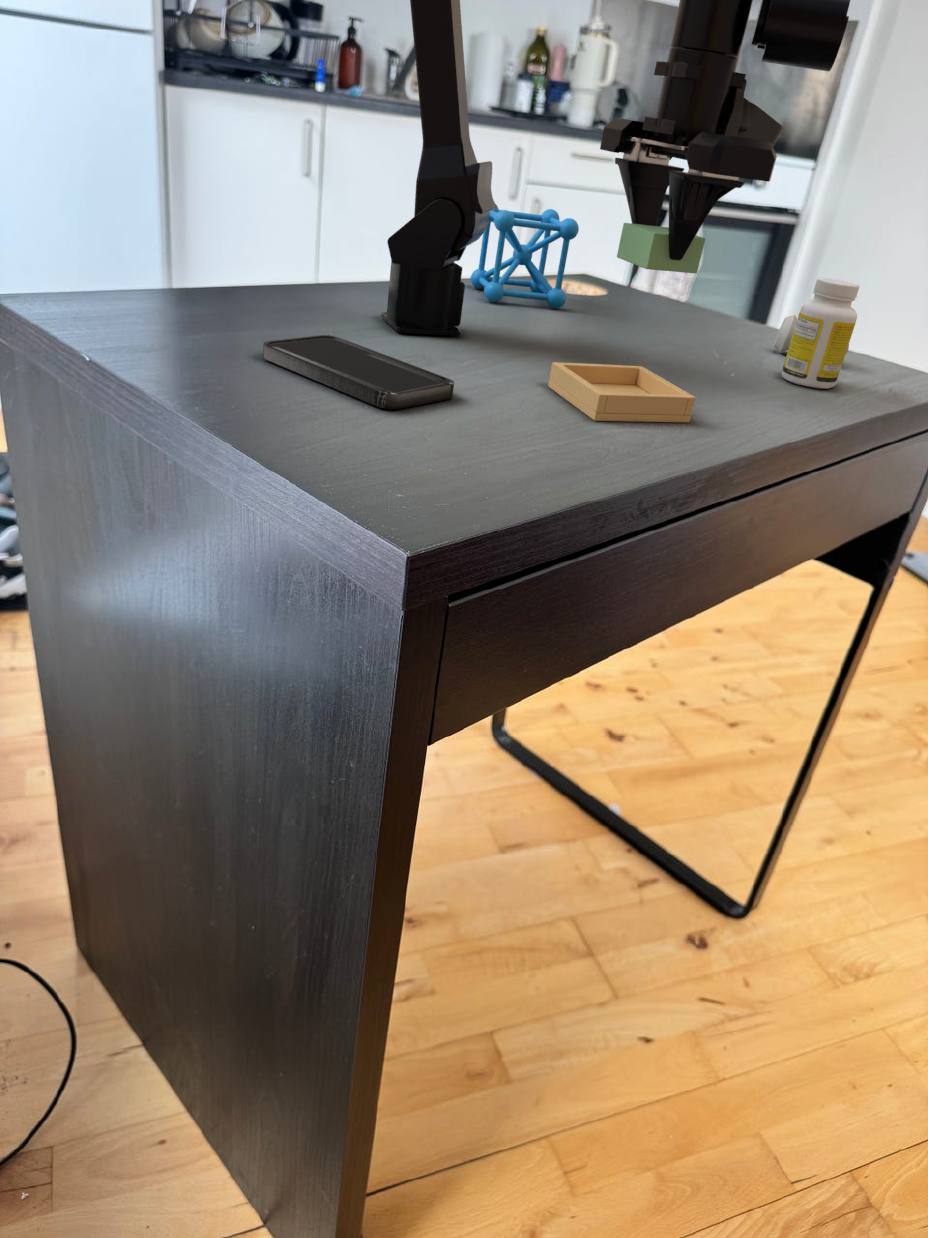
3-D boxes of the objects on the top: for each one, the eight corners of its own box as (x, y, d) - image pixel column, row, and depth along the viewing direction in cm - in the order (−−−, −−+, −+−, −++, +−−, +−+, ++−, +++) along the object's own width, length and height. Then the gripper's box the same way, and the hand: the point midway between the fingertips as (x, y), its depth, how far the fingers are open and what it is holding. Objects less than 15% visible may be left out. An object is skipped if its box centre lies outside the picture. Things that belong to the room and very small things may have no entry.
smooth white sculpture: (842, 374, 104) (838, 366, 100) (773, 355, 108) (766, 347, 103) (857, 336, 103) (854, 327, 99) (788, 318, 107) (781, 308, 102)
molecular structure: (566, 311, 109) (583, 220, 104) (485, 303, 106) (498, 209, 102) (543, 293, 117) (558, 208, 112) (467, 285, 115) (479, 198, 110)
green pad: (646, 269, 81) (654, 232, 79) (616, 257, 85) (623, 222, 83) (697, 273, 83) (705, 238, 81) (665, 261, 87) (673, 227, 86)
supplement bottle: (833, 381, 95) (866, 283, 90) (834, 393, 90) (869, 290, 86) (780, 370, 96) (810, 272, 91) (779, 381, 92) (810, 279, 87)
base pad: (594, 420, 71) (599, 394, 70) (547, 386, 78) (552, 361, 77) (689, 422, 75) (696, 397, 74) (636, 389, 82) (642, 365, 80)
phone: (388, 395, 66) (257, 341, 73) (387, 411, 66) (257, 355, 74) (461, 382, 71) (331, 333, 79) (459, 397, 72) (331, 346, 79)
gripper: (857, 72, 71) (794, 282, 79) (718, 65, 86) (676, 242, 94) (741, 49, 67) (686, 272, 75) (616, 45, 82) (581, 232, 89)
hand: (658, 253), depth 83 cm, fingers closed on green pad, 5 cm apart
